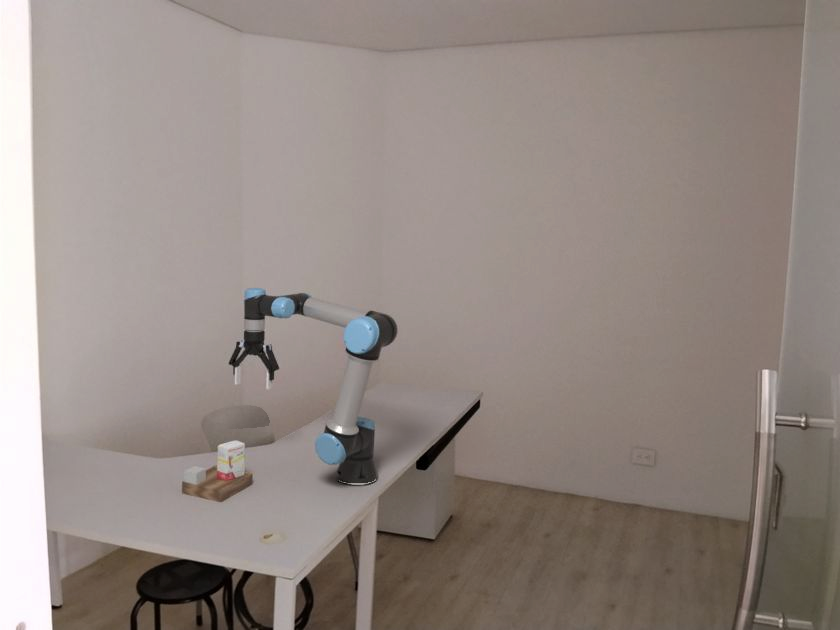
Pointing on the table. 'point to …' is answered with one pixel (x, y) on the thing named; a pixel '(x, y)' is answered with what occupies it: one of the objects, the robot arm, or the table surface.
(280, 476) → the table surface
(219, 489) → the dock
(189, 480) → the light grey block
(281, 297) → the robot arm
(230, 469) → the ink box
